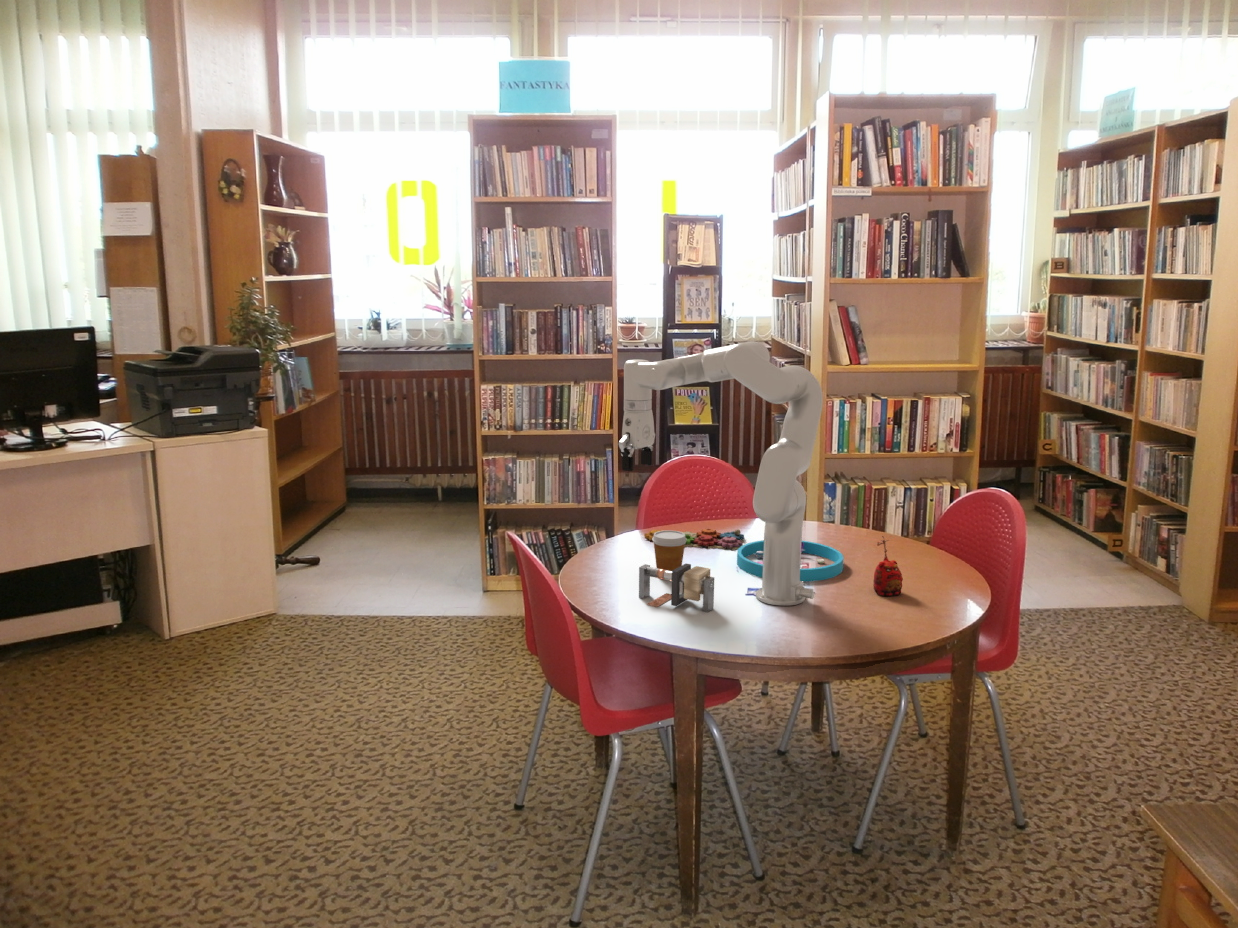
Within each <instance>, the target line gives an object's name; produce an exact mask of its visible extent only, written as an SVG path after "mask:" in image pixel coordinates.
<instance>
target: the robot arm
mask: <svg viewBox="0 0 1238 928" xmlns="http://www.w3.org/2000/svg"><path fill="white" fill-rule="evenodd" d="M770 357H771V356H770V351H769V349H768V347H766V345H765V344H764V343H762V342H760V341H756V340H754V341H753V340H752V341H745V342H739V343H735V344H730V345H725V346H720V347H714V348H709V349H705V350H704V351H702V352H699V353H695V354H690V355H686V356H680V357H674V358H670V359H664V360H663V359H662V360H658V361H657V360H656V361H653V362H652V361H650V360H647V359H628V360H626V361H625V363H624V365H623V419H622V427H621V429H622V430H621V439H620V440H619V441H618V447H619V451H620V455H621V457H622V458H621V459H622V462H621V463H622V466H621V469H622V471H626V472H633V471H634V456H633V454H634V452H635V450H641V451H640V464H641V465H644V466H652V465H653V451H654V444H655V439H656V432H655V423H654V415H653V414H654V413H653V410H652V406H653V405H652V403H653V402H652V401H653V400H652V397H653V395H652V394H653V390H655V391H661V390H662V391H663V390H667V389H669V388H675V387H676V388H677V387H681V386H684V385H689V384H697V383H701V382H709V383H715V382H722V381H726V380H727V381H728V380H733V379H734V380H736V381H737V382H739V383H740V384H742V385H743V386H744V387H745V388H747V389H748V390H750V391H751V392H753V393H755V394H756V395H757V396H759V397H760V398H761V399H763V400H764V401H767V402H768V403H771V404H774V405H780V404H785V403H789V404H788V408H787V412H786V414H785V417H784V419H783V424H782V429H781V434H780V437H779V440H778V442H776V443H774V444H772V445H771V446H769V447H768V448H767V449H766V451H765V452H764V453H763V456H762V457H761V460H760V465H759V469H758V472H757V478H756V483H755V488H754V491H753V498H752V506H753V511H754V513H755V516H756V517H757V518H758V519H759V520H761V521H762V522H764V533H763V536H764V537H763V540H764V552H763V558H762V564H763V578H762V579H761V580H762V584H761V585H762V587H761V588H759V589H757V590H756V591H755V597H756V599H757V600H758V601H760V602H761V603H765V604H768V605H772V606H782V607H783V606H785V607H786V606H787V607H788V606H794V605H795V606H796V605H799V604H802V603H804V602H805V601H806V599H811V600H813V599H814V598H815V592H814V589H813V588H809V587H808V588H807V587H805V586H804V582H802V581H800V569H801V562H802V561H801V560H802V553H801V542H802V541H803V526H804V517H805V512H806V505H807V493H806V491H805V488H804V486H803V484H801V482H800V481H798V480H797V477H799V476H800V475H803V473H805V472H806V471H807V470H808V469H809V467H810V465H811V462H812V457H813V452H814V447H815V443H816V439H817V436H818V435H817V434H818V429H819V424H820V420H821V415H822V411H823V403H824V402H823V401H824V397H823V390H822V386H821V383H819V381H818V379H817V378H816V377H815V375H814V374H813V373H812V372H811V371H810V370H808V369H807V368H805V367H803V366H800V365H793V364H792V365H786V366H781V367H778V366H776V365H775V364H773V363H772V362H770V359H771V358H770Z"/></svg>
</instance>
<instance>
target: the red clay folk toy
mask: <svg viewBox="0 0 1238 928" xmlns="http://www.w3.org/2000/svg"><path fill="white" fill-rule="evenodd" d="M881 537H882V538H883V539H882V540H880V541H881V542H879V541H877V544H876V545H877V546H880V545H883V549H884V558H883V561H879V562H878V565H877V566H876V567H875V570H874V573H873V590H874V592H875V593H876V594H878V595H879V596H880V597H881V596H882V597H883V596H884V597H885V596H886V597H890V596H891V597H892V596H900V595H901V594H902V589H903V579H904V578H903V576H902V575H903V574H902V572H901V570H900V568H899V567H898V562H897V561H896V560H890V559H889V558H888V554H887V552H888V549H886V548H887V546H886V542H888V541H890V540H889V539H888V540H886V539H885V537H884V535H882V536H881Z"/></svg>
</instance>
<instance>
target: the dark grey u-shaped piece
mask: <svg viewBox="0 0 1238 928" xmlns="http://www.w3.org/2000/svg"><path fill="white" fill-rule="evenodd" d="M690 569H692V564H691V563H684V564H682V566H680V567H678V568H676V569H674V570H673V571H672V581H671V593H670V594H671V599H670V601H671V602H670V603H671V604H670V605H671V606H673V607H678V606H679V605H681V604H683V603H685V602H686V601H687V600H689V599H685V598H684V583H682V593H681V592H680V591H681V590H680V588H681V583H680V576H681V575H683V574H684V572H686V571H688V570H690Z"/></svg>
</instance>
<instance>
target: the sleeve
mask: <svg viewBox="0 0 1238 928" xmlns="http://www.w3.org/2000/svg"><path fill="white" fill-rule="evenodd" d="M707 577H711V568H709V567H705V566H704V567H703V566H698V565H696V566H694V567H691V569H690V570H688V571H686V572H684V598H685V599H688V600H691V601H694V602H695V601H696V602H699V601H701V595H703V587H701V579H703V578H707Z"/></svg>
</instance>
